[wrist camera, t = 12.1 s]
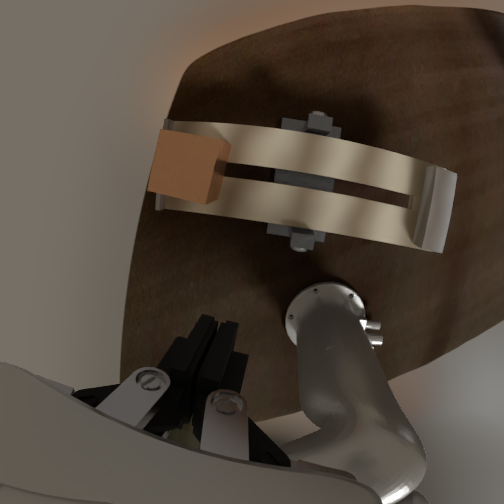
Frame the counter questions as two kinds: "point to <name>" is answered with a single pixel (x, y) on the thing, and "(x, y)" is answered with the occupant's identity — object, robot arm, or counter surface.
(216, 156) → the block
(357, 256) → the counter surface
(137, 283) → the counter surface
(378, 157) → the beam
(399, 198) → the counter surface
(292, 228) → the pivot stand
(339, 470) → the robot arm
